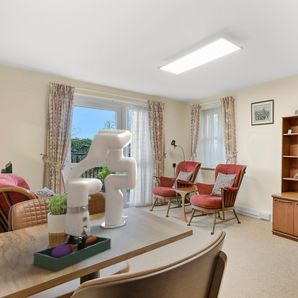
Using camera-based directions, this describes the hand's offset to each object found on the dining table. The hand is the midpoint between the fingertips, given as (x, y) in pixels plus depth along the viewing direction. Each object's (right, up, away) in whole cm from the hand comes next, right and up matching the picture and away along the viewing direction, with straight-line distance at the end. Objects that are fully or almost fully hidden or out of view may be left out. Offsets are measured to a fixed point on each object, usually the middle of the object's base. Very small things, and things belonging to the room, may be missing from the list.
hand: (76, 249), depth 101 cm
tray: (0, -3, -1) cm, 3 cm away
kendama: (0, -1, 0) cm, 1 cm away
